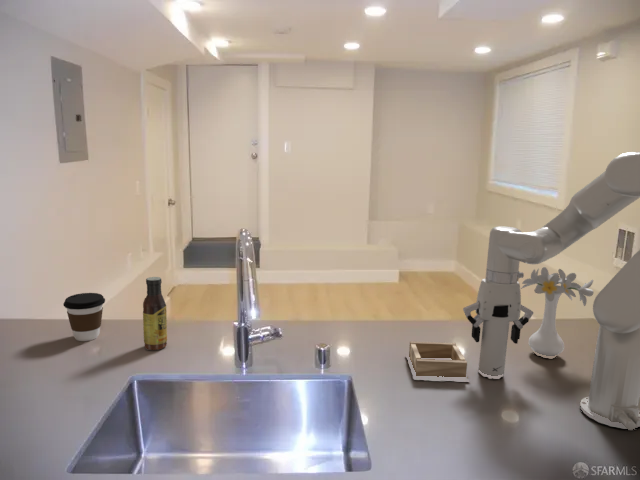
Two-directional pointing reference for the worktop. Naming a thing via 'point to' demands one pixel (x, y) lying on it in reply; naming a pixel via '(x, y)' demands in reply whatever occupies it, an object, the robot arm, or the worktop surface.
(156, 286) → the sauce bottle
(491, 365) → the travel mug
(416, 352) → the wooden square tray
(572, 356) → the worktop surface
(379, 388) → the worktop surface
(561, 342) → the flower vase
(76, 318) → the coffee cup
